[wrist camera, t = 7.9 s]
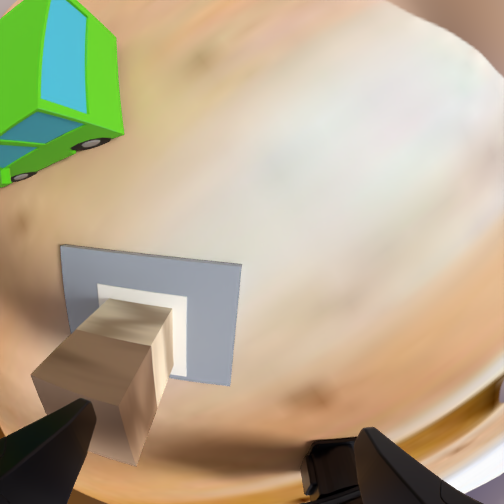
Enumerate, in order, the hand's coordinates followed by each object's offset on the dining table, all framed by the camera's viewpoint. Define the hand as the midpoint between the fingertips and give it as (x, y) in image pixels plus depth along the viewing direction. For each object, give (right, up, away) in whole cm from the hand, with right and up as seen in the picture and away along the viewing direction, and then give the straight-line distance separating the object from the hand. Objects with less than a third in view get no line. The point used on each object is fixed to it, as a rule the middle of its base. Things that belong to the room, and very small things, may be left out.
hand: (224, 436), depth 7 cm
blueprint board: (-7, +1, +13) cm, 15 cm away
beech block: (-7, 0, +12) cm, 14 cm away
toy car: (-15, +16, +9) cm, 24 cm away
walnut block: (-7, -2, +7) cm, 10 cm away
